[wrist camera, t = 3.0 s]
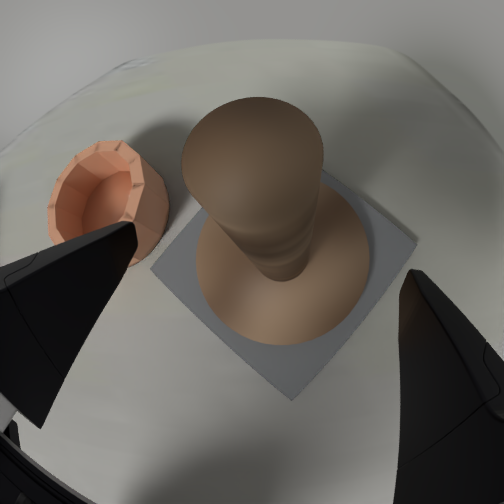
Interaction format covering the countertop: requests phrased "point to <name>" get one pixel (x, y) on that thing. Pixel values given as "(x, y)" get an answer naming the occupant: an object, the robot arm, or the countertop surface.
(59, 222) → the terracotta bowl
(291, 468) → the countertop surface
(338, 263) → the walnut cover
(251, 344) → the grey rubber mat
